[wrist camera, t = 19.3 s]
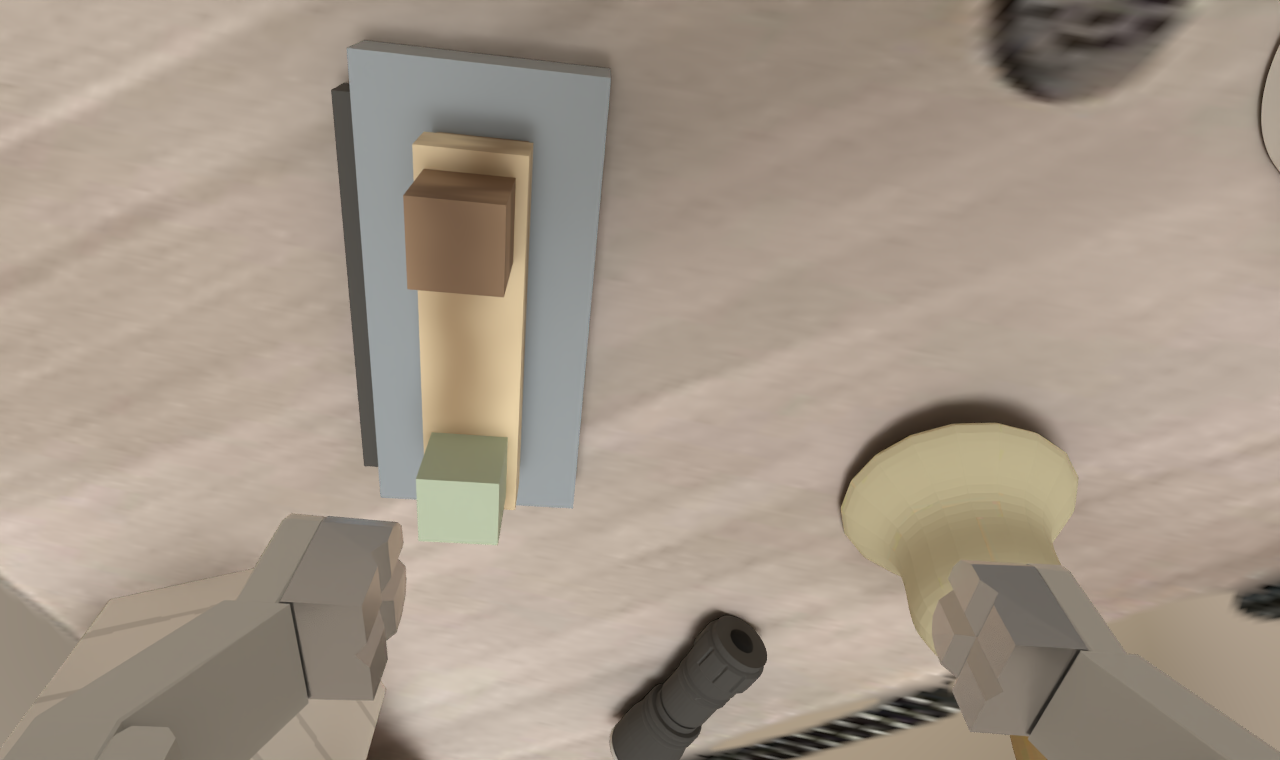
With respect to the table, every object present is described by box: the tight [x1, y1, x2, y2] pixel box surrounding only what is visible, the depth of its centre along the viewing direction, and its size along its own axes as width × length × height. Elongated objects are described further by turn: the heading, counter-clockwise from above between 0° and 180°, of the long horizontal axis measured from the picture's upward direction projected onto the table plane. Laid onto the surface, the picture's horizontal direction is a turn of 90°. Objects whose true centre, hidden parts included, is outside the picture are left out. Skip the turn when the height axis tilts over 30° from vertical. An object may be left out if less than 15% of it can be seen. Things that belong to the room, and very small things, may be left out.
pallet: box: [412, 132, 533, 510], centre depth 39 cm, size 5×20×4 cm, turn 174°
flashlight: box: [609, 615, 767, 760], centre depth 59 cm, size 15×5×5 cm, turn 149°
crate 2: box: [416, 432, 508, 545], centre depth 39 cm, size 4×4×4 cm
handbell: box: [841, 423, 1078, 760], centre depth 43 cm, size 15×15×25 cm
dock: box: [331, 40, 611, 508], centre depth 42 cm, size 13×26×3 cm, turn 173°
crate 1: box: [403, 169, 516, 297], centre depth 32 cm, size 4×4×4 cm
